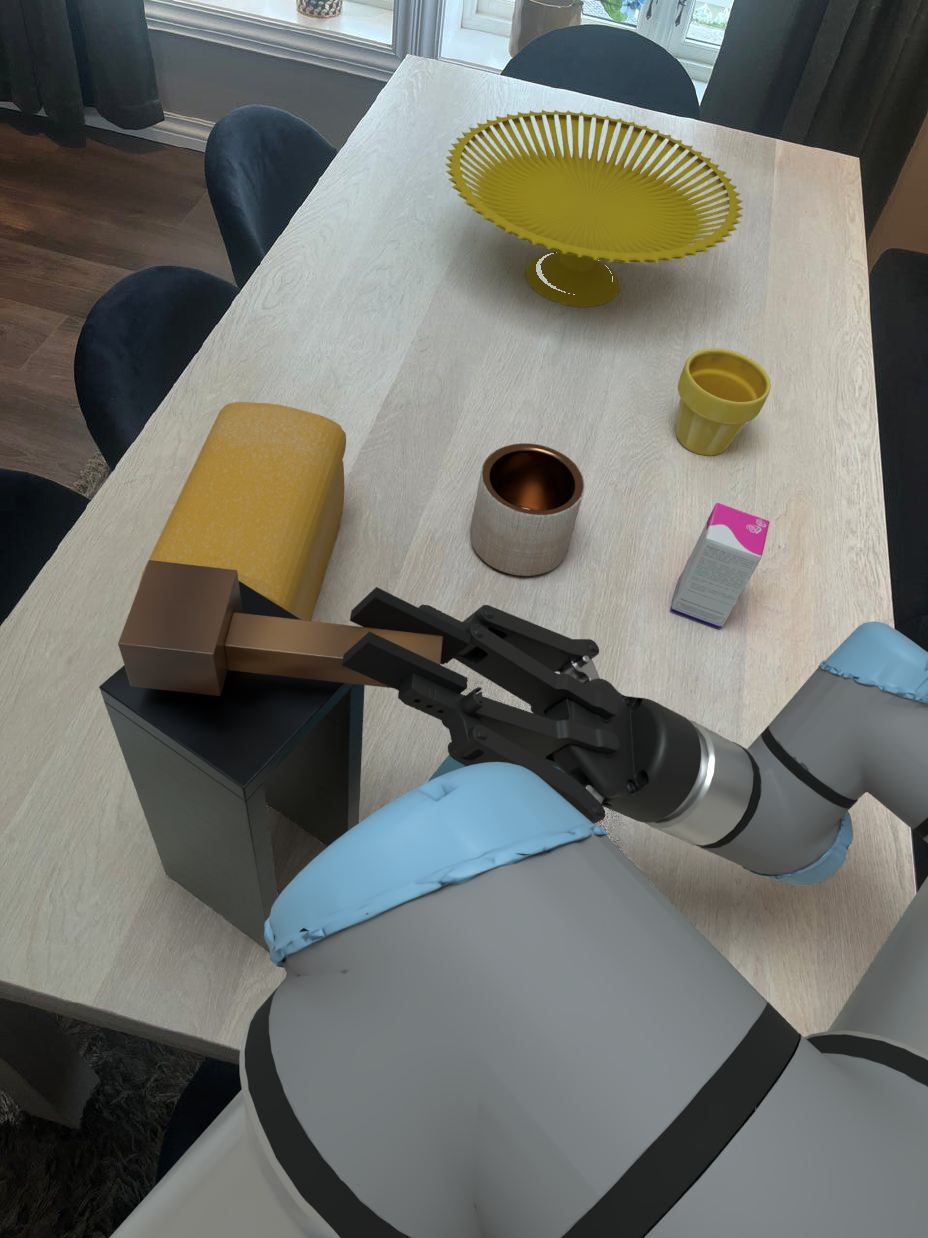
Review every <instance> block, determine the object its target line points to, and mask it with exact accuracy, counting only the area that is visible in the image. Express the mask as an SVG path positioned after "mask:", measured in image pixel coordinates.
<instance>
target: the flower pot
mask: <svg viewBox="0 0 928 1238" xmlns="http://www.w3.org/2000/svg"><path fill="white" fill-rule="evenodd" d="M680 373H681V374H680V376H679V380H678V384H677V392H678V395H679V405H678V413H677V419H676V426H675V427H676V428H675V435H676V439H677V440H678V442H679V444H681V445H682V446H683V447H684V448H685V449H686V450H689V451H690V452H692V453H695V454H697V455H701V456H716V455H719V454H722V453H723V452H725V451H726V450H727V448H728V447H729V446H730V445H731V444H732V442H733V440H734V439H735V438H736V437H737V435H738V434H739V433H740V432H741V431H742V430H743V428H744V427H745V425H746V424H747V423H749V422H751V421H753V420H754V419H755V418H757V416H758V415H759V414H760V412H761V410H762V409H763V407H764V405H765V404H766V401H767V399H768V397H769V395H770V392H771V386H772V385H771V380H770V377H769V375H768V373H767V372H766V370H765V369H764V368H763V367H762V366H761V365H760V364H759V363H757V362H756V361H755V360H754V359H752V358H750V357H748V356H747V355H744V354H742V353H740V352H736V351H734V350H730V349H726V348H715V347H714V348H712V347H709V348H704V349H699V350H698V351H695V352H694V353H692V354H690V355H689V357H688V358H687V359H686V361H685V363H684V365H683V368H682V371H681V372H680Z"/></svg>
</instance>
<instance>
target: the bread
mask: <svg viewBox="0 0 928 1238" xmlns="http://www.w3.org/2000/svg"><path fill="white" fill-rule="evenodd" d="M346 447H347V434H346V432H345V431H344V429H343V428H342V426H341V425H340V424H339V423H338V422H337V421H334V420H333V419H331V418H328V417H327V416H323V415H321V414H317V413H314V412H311V411H306V410H302V409H299V408H296V407H292V406H287V405H282V404H277V403H268V402H267V403H266V402H253V401H251V402H250V401H235V402H230V403H227V404H225V405H224V406H223V407H222V408H221V409H220V410H219V412H218V414H217V416H216V418H215V420H214V423H213V424H212V426H211V429H210V431H209V433H208V435H207V437H206V439H205V441H204V444H203V445H202V447H201V450H200V451H199V454H198V455H197V457H196V460H195V462H194V465H193V466H192V468H191V470H190V472H189V474H188V477H187V479H186V481H185V483H184V485H183V487H182V489H181V491H180V493H179V496H178V497H177V498H176V499H177V500H176V502H175V504H174V506H173V508H172V510H171V511H170V514H169V516H168V518H167V521H166V522H165V524H164V526H163V528H162V531H161V533H160V535H159V537H158V539H157V541H156V543H155V545H154V547H153V549H152V551H151V554H150V556H149V558H148V560H147V562H146V564H145V566H144V569H143V571H142V573H141V577H140V580H139V584H138V586H139V585H140V582H141V580H142V577H143V574H144V572H145V569H146V566H147V563H148V561H149V560H154V561H163V562H172V563H180V564H189V565H198V566H206V567H215V568H223V569H232V570H237V572H238V580H239V581H240V582H242V583H244V584H245V585H247V586H248V587H250V588H252V589H253V590H255V591H256V592H258V593H260V594H261V595H263V596H264V597H266V598H268V599H269V600H271V601H272V602H274V603H276V604H277V605H279V606H280V607H282V608H284V609H285V610H287V611H288V612H290V613H292V614H293V615H295V616H296V617H298V618H300V619H301V620H305V621H312V616H313V613H314V610H315V607H316V604H317V601H318V597H319V595H320V591H321V588H322V585H323V581H324V578H325V576H326V572H327V569H328V566H329V563H330V559H331V556H332V553H333V550H334V547H335V543H336V539H337V537H338V533H339V529H340V526H341V521H342V515H343V510H344V501H345V465H344V457H345V453H346Z"/></svg>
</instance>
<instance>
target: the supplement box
mask: <svg viewBox="0 0 928 1238" xmlns="http://www.w3.org/2000/svg"><path fill="white" fill-rule="evenodd" d="M769 527H770V520H768V519H765V518H763V517H760V516H756V515H754V514H750V513H747V512H745V511H742V510H740V509H736V508H733V507H730V506H728V505H725V504H722V503H720V502H716V503H715V504H714V506H713V508H712V510H711V512H710V514H709V516H708V518H707V520H706V522H705V525H704V527H703V529H702V530H701V533H700V535H699V537H698V539H697V541H696V543H695V546H694V548H693V550H692V552H691V554H690V555H689V556H688V560H687V562H686V564H685V566H684V568H683V570H682V572H681V574H680V576H679V578H678V580H677V584H676V587H675V591H674V593H673V597H672V601H671V604H670V608H669V612H670V613H673V614H674V615H677V616H680V617H683V618H686V619H689V620H692V621H695V622H698V623H700V624H702V625H706V626H709V627H711V628H714V629H717V630H721V629H722V628H723V627H724V625H725V623H726V621H727V620H728V618H729V617H730V614H732V611H733V610H734V607H735V606H736V604H737V602H738V600H739V599H740V597H741V595H742V593H743V592H744V590H745V588H746V586H747V584H748V583H749V581H750V579H751V578H752V576H753V574H754V572H755V571H756V568H757V567H758V565H759V563H760V561H761V560H762V557H763V554H764V550H765V544H766V540H767V535H768V531H769Z"/></svg>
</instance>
